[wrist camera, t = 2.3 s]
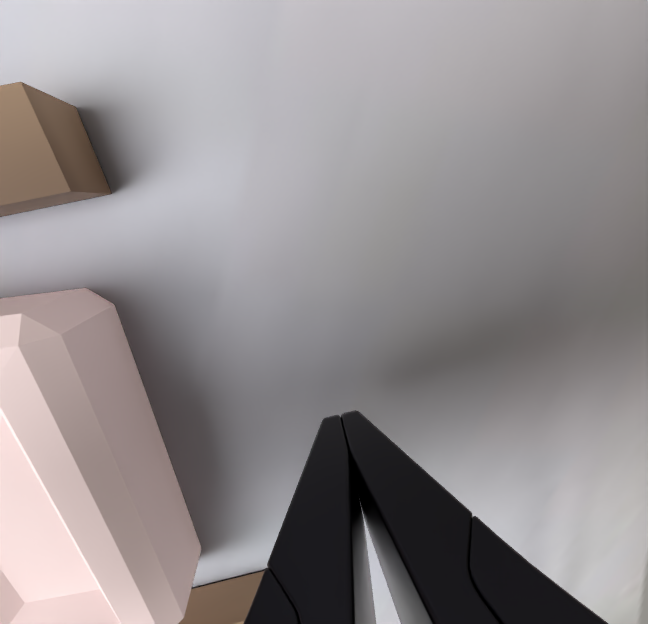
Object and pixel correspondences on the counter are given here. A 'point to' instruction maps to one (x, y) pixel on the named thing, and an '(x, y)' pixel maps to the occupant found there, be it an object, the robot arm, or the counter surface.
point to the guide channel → (69, 186)
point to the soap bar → (84, 474)
